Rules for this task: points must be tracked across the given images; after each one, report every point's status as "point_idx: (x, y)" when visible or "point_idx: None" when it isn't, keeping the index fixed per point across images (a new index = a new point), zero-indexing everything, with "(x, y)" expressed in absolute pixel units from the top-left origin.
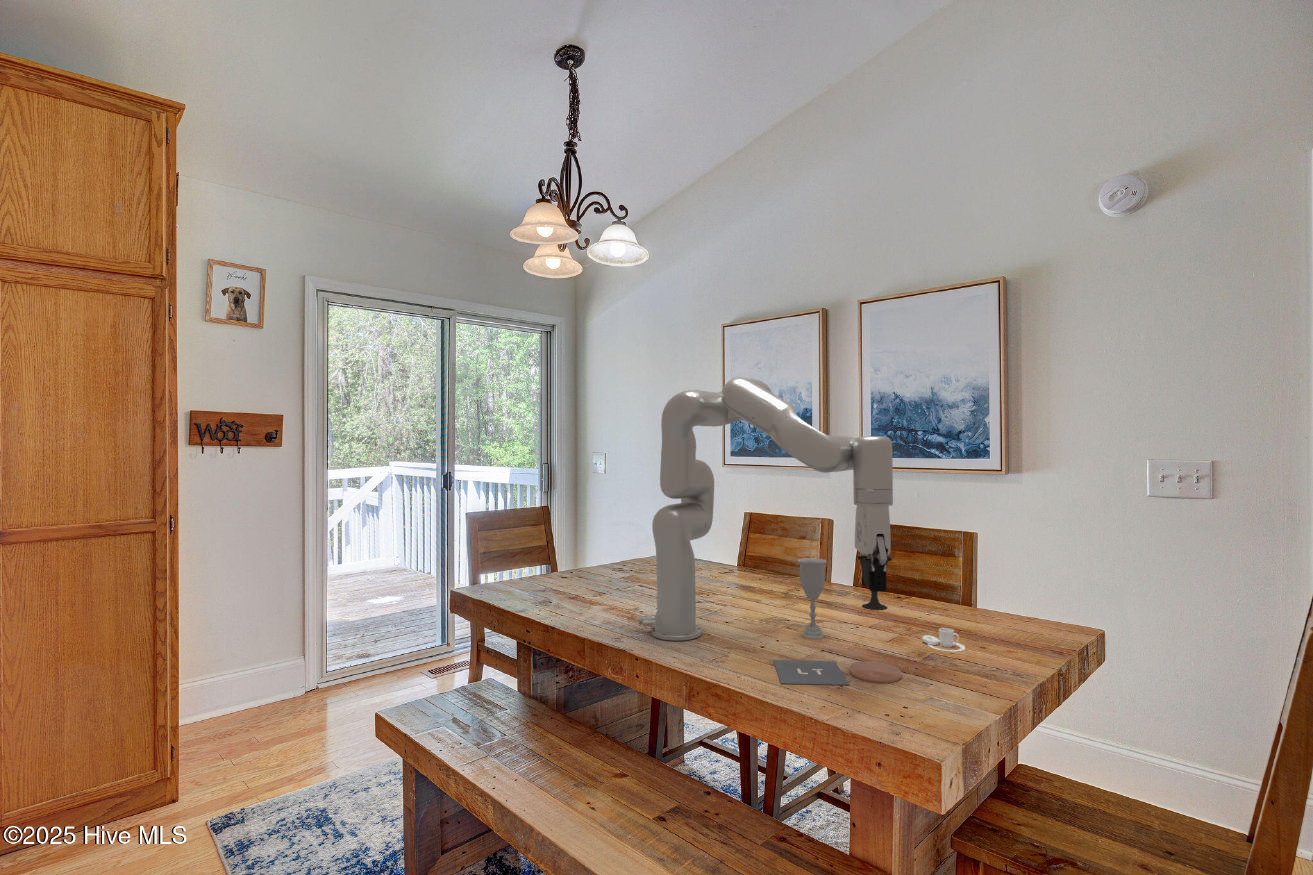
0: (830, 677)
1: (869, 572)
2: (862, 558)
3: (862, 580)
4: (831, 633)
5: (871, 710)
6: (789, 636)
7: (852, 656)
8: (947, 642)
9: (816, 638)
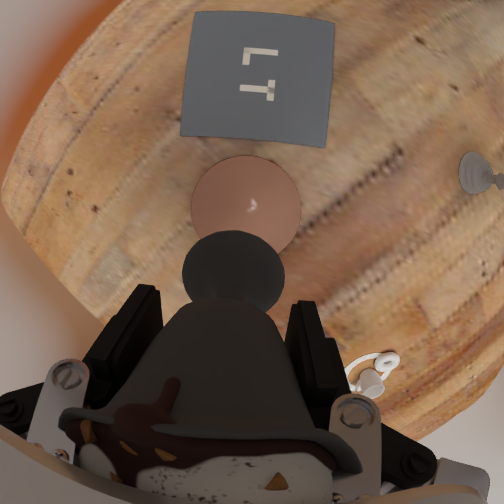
0: (220, 105)
1: (95, 349)
2: (104, 426)
3: (312, 311)
4: (475, 215)
5: (81, 151)
6: (473, 123)
7: (356, 201)
8: (361, 378)
9: (459, 171)
